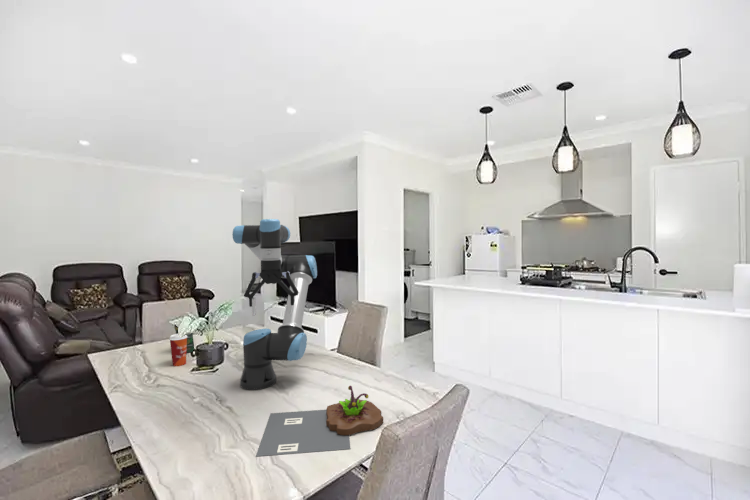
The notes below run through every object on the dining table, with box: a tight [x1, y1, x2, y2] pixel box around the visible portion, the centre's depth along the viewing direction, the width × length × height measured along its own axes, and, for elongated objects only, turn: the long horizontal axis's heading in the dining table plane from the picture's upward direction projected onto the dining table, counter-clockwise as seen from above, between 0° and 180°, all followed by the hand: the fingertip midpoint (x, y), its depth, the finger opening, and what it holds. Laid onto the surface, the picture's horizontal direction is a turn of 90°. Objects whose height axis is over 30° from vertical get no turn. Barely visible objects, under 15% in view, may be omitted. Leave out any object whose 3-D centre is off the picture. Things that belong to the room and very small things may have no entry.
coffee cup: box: [169, 333, 188, 367], centre depth 186 cm, size 8×8×15 cm
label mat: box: [255, 409, 351, 458], centre depth 122 cm, size 28×26×1 cm
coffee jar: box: [173, 324, 195, 354], centre depth 205 cm, size 10×8×19 cm
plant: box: [325, 385, 384, 436], centre depth 129 cm, size 20×20×11 cm
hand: (272, 314), depth 141 cm, fingers open, 13 cm apart
